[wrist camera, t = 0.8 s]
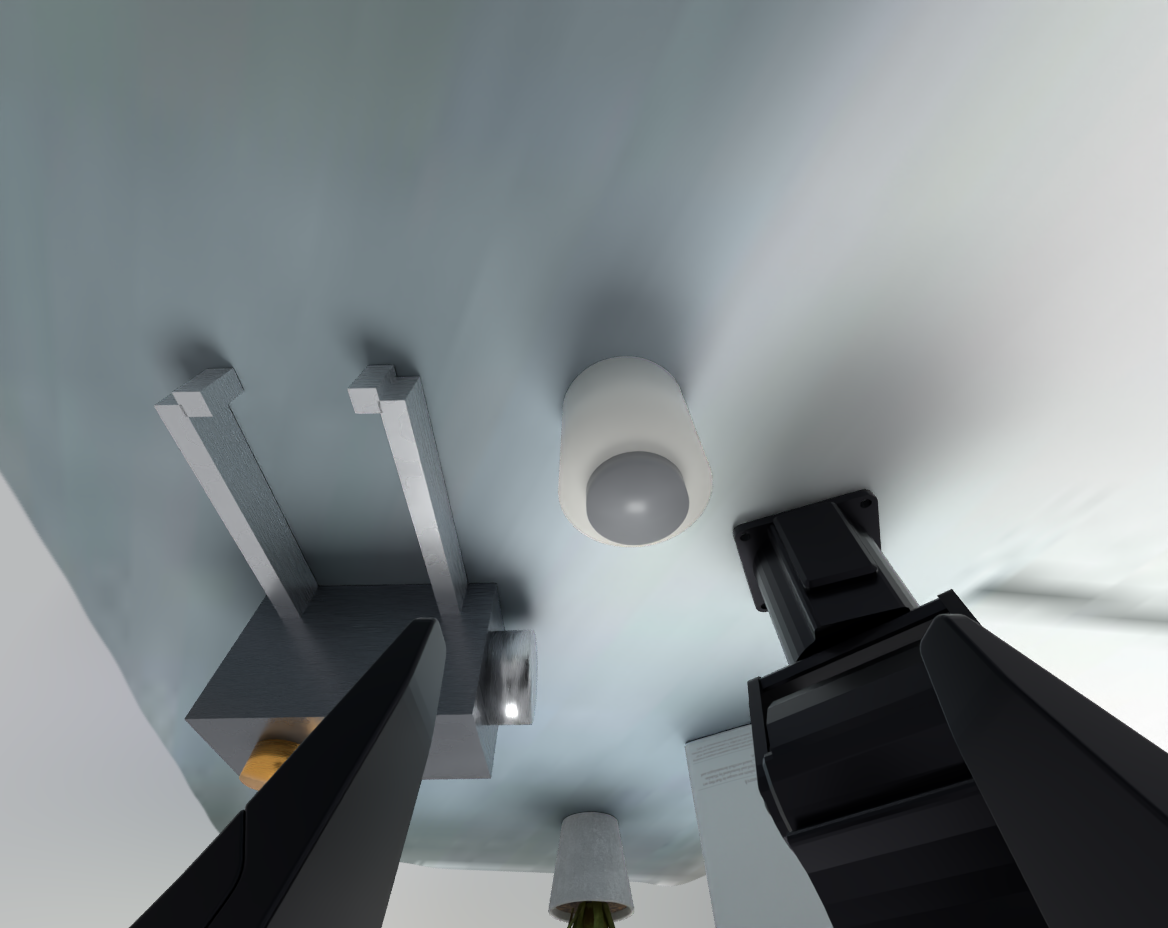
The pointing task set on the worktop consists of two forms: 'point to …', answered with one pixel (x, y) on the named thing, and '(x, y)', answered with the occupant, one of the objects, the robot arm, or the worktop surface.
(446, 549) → the motor clip
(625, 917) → the house plant
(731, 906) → the supplement box
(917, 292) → the worktop surface
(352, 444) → the worktop surface
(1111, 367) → the worktop surface
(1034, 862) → the robot arm
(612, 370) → the bottle
